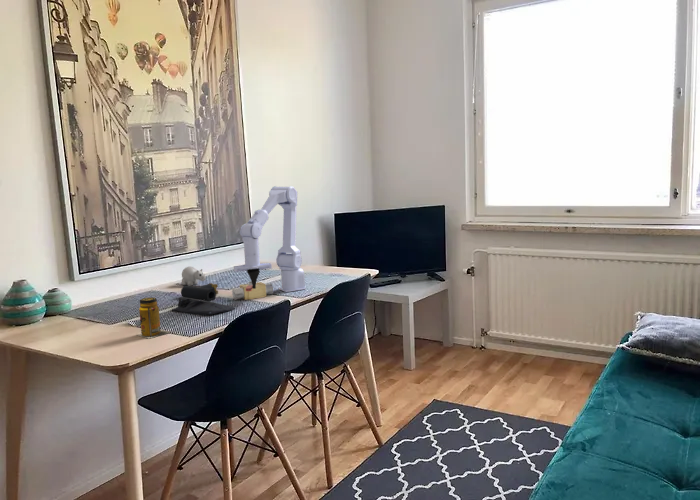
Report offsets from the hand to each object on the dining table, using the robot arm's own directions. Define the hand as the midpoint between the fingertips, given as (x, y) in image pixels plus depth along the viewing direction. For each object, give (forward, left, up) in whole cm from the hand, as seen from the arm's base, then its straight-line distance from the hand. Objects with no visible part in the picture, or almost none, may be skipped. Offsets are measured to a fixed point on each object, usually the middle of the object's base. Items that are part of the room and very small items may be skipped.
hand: (254, 288), depth 236 cm
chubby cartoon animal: (+11, -47, -6) cm, 49 cm away
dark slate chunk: (+21, 0, -6) cm, 21 cm away
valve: (-2, -8, -6) cm, 10 cm away
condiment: (+44, +22, -6) cm, 49 cm away
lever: (0, -3, 0) cm, 3 cm away
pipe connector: (+14, -21, -6) cm, 26 cm away
